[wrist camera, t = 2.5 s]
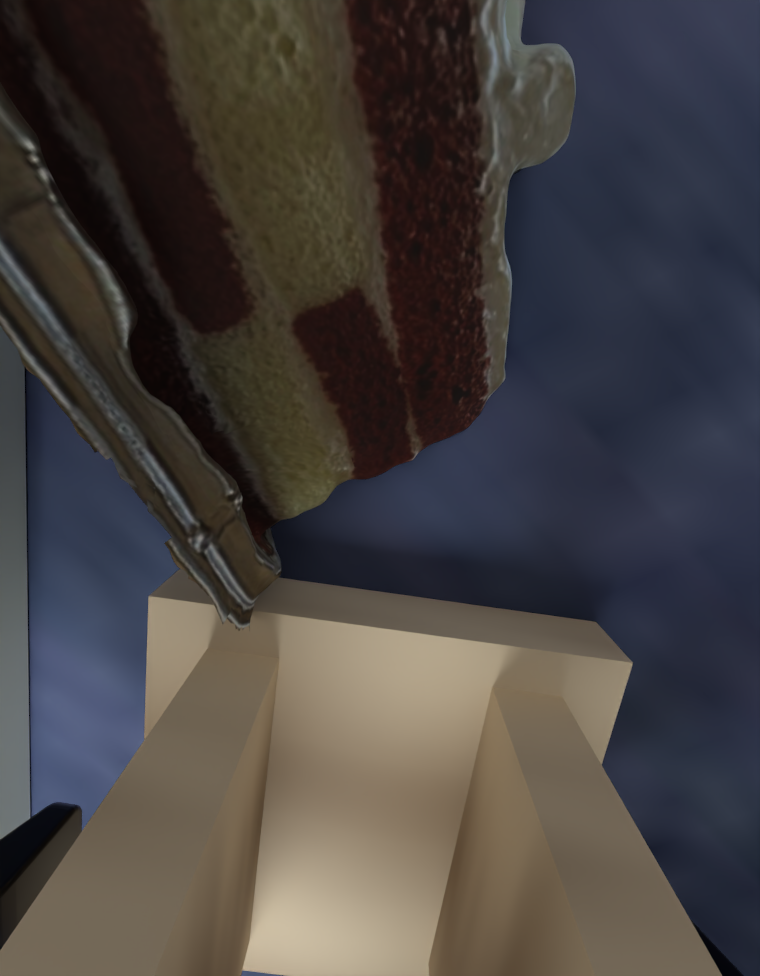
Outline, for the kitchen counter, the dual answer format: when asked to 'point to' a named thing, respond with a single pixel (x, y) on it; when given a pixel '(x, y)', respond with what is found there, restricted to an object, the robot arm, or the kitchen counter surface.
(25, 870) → the robot arm
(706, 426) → the kitchen counter surface
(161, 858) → the wooden slotted holder
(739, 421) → the kitchen counter surface
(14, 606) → the sage board
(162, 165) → the chocolate cake
